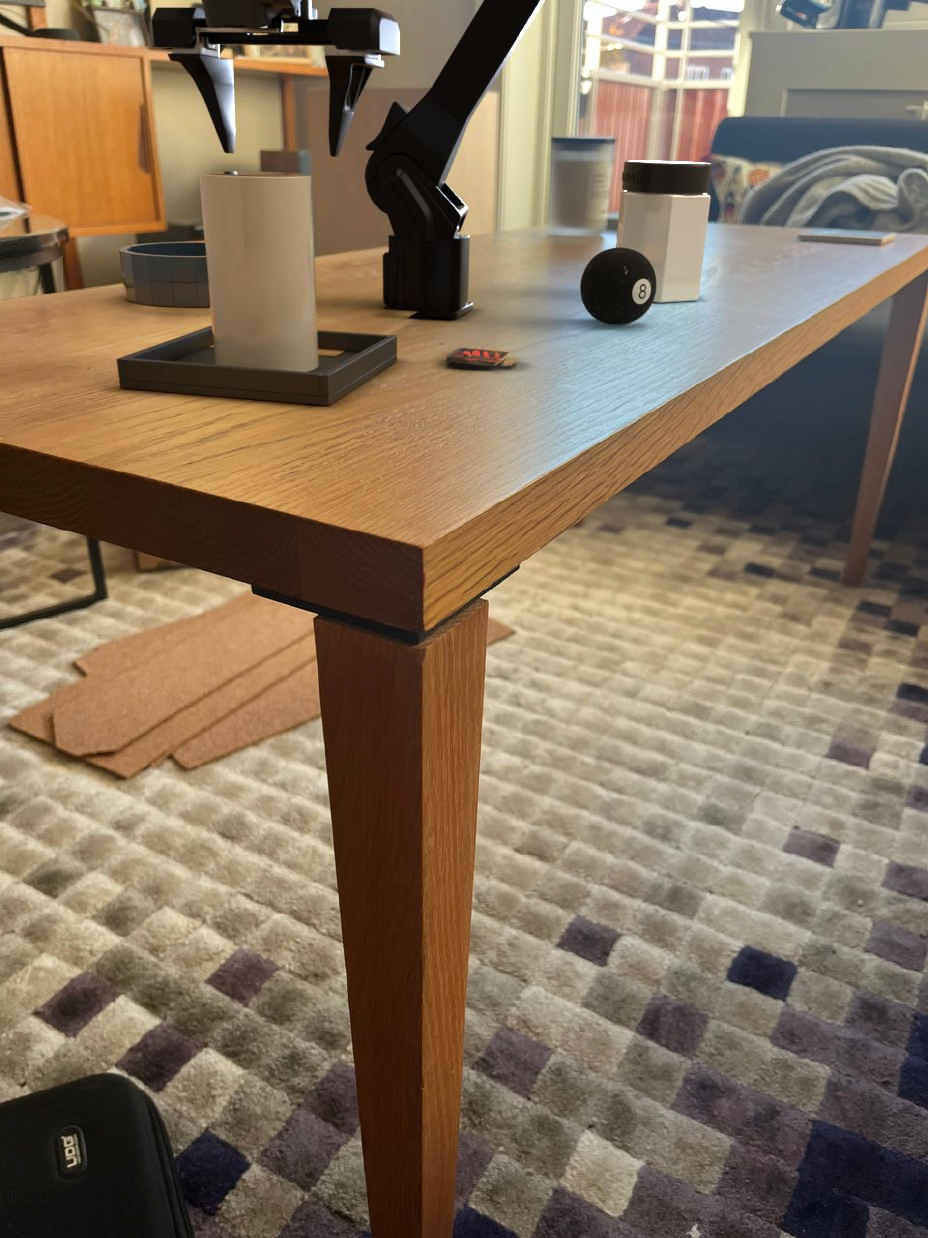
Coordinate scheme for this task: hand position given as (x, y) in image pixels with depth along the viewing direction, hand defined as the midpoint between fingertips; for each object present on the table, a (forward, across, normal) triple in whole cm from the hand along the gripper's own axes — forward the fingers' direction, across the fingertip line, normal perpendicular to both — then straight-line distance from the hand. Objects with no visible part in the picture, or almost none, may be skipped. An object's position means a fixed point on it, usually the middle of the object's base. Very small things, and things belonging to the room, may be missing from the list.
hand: (281, 154), depth 81 cm
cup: (+12, +9, -25) cm, 29 cm away
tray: (+12, +9, -25) cm, 29 cm away
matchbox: (+12, +21, -17) cm, 30 cm away
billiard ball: (+12, +28, +2) cm, 31 cm away
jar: (+12, +30, +20) cm, 38 cm away
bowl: (+12, -8, -1) cm, 14 cm away
